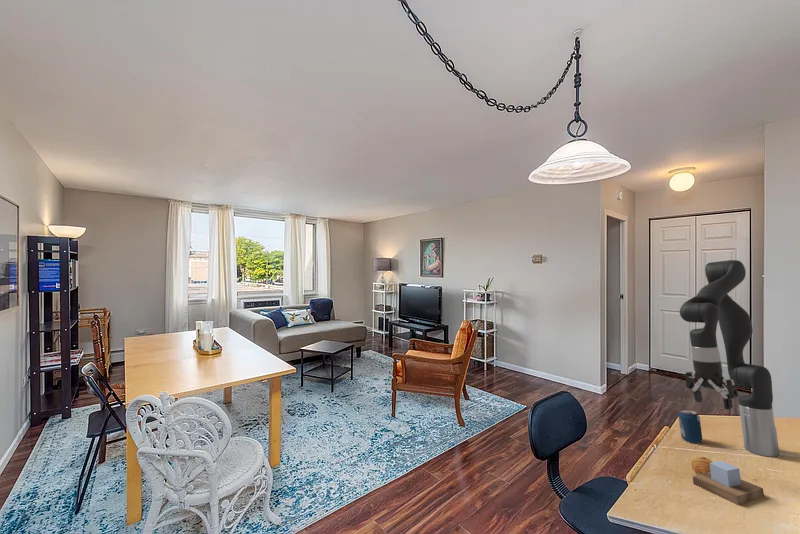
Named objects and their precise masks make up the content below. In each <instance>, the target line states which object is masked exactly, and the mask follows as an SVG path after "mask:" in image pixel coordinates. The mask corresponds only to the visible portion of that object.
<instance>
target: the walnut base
mask: <svg viewBox="0 0 800 534" xmlns="http://www.w3.org/2000/svg"><path fill="white" fill-rule="evenodd" d="M740 479H741V478H740ZM692 482H693V483H692V484H693V485H694V486H696V487H698V486H699V487H698V488H700V487H701V489H703V490H705V491H707V492H709V493H710V494H711V493H712V494H713V495H715V496H717V495H718V496H717V497H720V498H722V499H724V500H726V501H728V502H730V503H733V504H735V505H736V506H740V505H743V504H746V503H749V502H752V501H755V500H758V499H760V498H763V497H765V493H764V488H763V487H760V486H759V485H757V484H753V483H751V482H749V481H746V480H744V479H741V485H737V486H732V487H728V486H726V485H723V484H721V483H719V482H717V481H715V480H713V479H711V472H707V473H703V474H700V475H697V474H696V475H694V476H692Z"/></svg>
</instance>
